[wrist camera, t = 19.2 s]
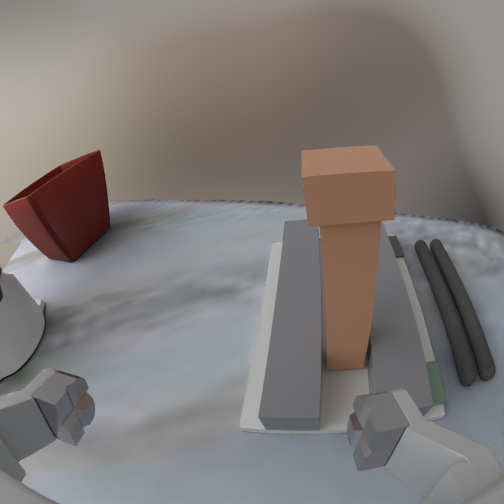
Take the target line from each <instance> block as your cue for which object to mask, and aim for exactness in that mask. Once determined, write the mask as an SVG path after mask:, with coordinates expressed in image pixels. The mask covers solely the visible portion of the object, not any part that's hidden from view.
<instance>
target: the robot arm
mask: <svg viewBox="0 0 504 504" xmlns="http://www.w3.org/2000/svg"><path fill="white" fill-rule="evenodd" d="M44 305H45V303H44V302H43V301H42V299H33V298H32V297H31V296H30V295H29V293H28V292H27V291H26V290H25V288H24V287H23V286H22V285H21V283H20V282H19V281H18V280H17V278H16V277H15V276H14V275H13V274H5V273H2V269H1V267H0V380H1V379H2V378H4V377H6V376H8V375H10V374H12V373H14V372H15V371H17V370H18V369H19V368H20V367H21V366H22V365H23V364H24V363H25V362H26V361H27V360H28V359H29V357H30V356H31V355H32V353H33V352H34V350H35V349H36V347H37V345H38V343H39V341H40V339H41V336H42V334H43V330H44V324H45V320H44V316H43V309H44ZM87 390H88V385H87V383H86V380H85V379H83V378H82V377H78V376H75V375H72V374H69V373H65V372H62V371H58V370H55V369H52V368H49V367H48V368H44V369H43V370H42V371H41V372H40V373H39V374H38V375H37V376H36V377H35V378H34V379H33V380H32V381H31V382H30V383H29V384H28V385H27V386H26V387H25V388H24V389H23V390H22V391H21V392H20V391H15V392H12V393H9V394H6V395H2V396H0V504H59V503H57V502H55V501H53V500H51V499H49V498H47V497H45V496H43V495H42V494H40V493H38V492H36V491H35V490H33V489H31V488H30V487H28V486H26V485H25V484H23V483H21V481H22V480H23V478H24V477H25V475H26V473H25V470H24V469H23V468H22V467H21V465H20V464H19V463H18V462H19V461H20V460H22V459H24V458H26V457H28V456H29V455H31V454H33V453H35V452H36V451H38V450H40V449H42V448H43V447H45V446H47V445H48V444H50V443H52V442H54V441H55V440H56V439H59V440H61V441H64V442H66V443H69V444H72V445H75V446H77V444H78V443H79V441H80V439H81V438H82V436H83V435H84V433H85V432H84V427H85V426H87V425H89V424H90V423H91V422H92V420H93V418H94V414H95V404H94V401H93V399H92V397H91V396H90V395H89V394H88V393H87ZM353 407H354V410H355V412H353V413H352V414H351V415H350V416H349V420H348V423H347V435H348V440H349V443H350V445H352V446H353V447H355V448H356V449H355V451H354V454H353V456H354V459H355V463H356V466H357V469H358V471H361V470H367V469H372V468H378V467H383V466H385V468H386V469H387V470H389V471H390V472H391V473H392V474H394V475H395V476H396V477H397V478H399V479H400V480H401V481H402V482H404V483H405V484H406V485H408V486H409V487H410V488H411V489H413V490H414V491H415V492H417V493H418V494H419V495H421V496H422V497H423V498H424V499H423V500H422V501H421V502H420V503H419V504H504V469H503V467H502V466H501V464H500V463H499V461H498V460H497V458H496V457H495V456H494V454H493V453H492V451H491V450H490V448H489V447H487V446H484V445H482V444H480V443H477V442H475V441H473V440H471V439H468V438H466V437H464V436H462V435H460V434H457V433H455V432H453V431H451V430H449V429H447V428H445V427H443V426H441V425H439V424H436V423H434V422H432V421H427V422H426V420H425V418H424V417H423V415H422V414H421V412H420V411H419V409H418V407H417V406H416V404H415V403H414V401H413V400H412V398H411V397H410V395H409V394H408V392H407V391H406V390H405V389H403V388H402V389H396V390H391V391H388V392H380V393H373V394H366V395H358V396H357V397H356V398H355V400H354V403H353Z"/></svg>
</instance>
